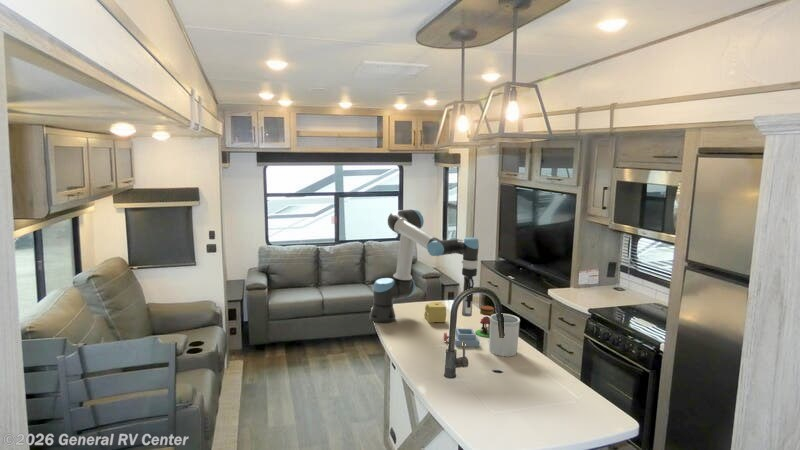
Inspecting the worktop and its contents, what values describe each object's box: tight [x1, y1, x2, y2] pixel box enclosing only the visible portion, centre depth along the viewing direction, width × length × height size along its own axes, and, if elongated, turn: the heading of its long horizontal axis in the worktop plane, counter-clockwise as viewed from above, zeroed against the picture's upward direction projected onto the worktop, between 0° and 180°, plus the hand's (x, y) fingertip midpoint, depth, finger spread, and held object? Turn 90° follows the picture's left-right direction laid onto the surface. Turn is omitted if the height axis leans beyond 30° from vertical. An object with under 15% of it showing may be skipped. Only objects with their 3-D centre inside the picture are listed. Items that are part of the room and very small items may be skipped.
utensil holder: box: [488, 313, 521, 357], centre depth 246 cm, size 15×15×18 cm
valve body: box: [443, 327, 480, 348], centre depth 258 cm, size 14×17×6 cm
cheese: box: [423, 301, 447, 324], centre depth 290 cm, size 10×11×10 cm
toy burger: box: [475, 305, 495, 338], centre depth 270 cm, size 12×13×15 cm
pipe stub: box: [461, 297, 473, 318], centre depth 255 cm, size 5×5×12 cm
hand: (466, 311), depth 256 cm, fingers closed on pipe stub, 5 cm apart
